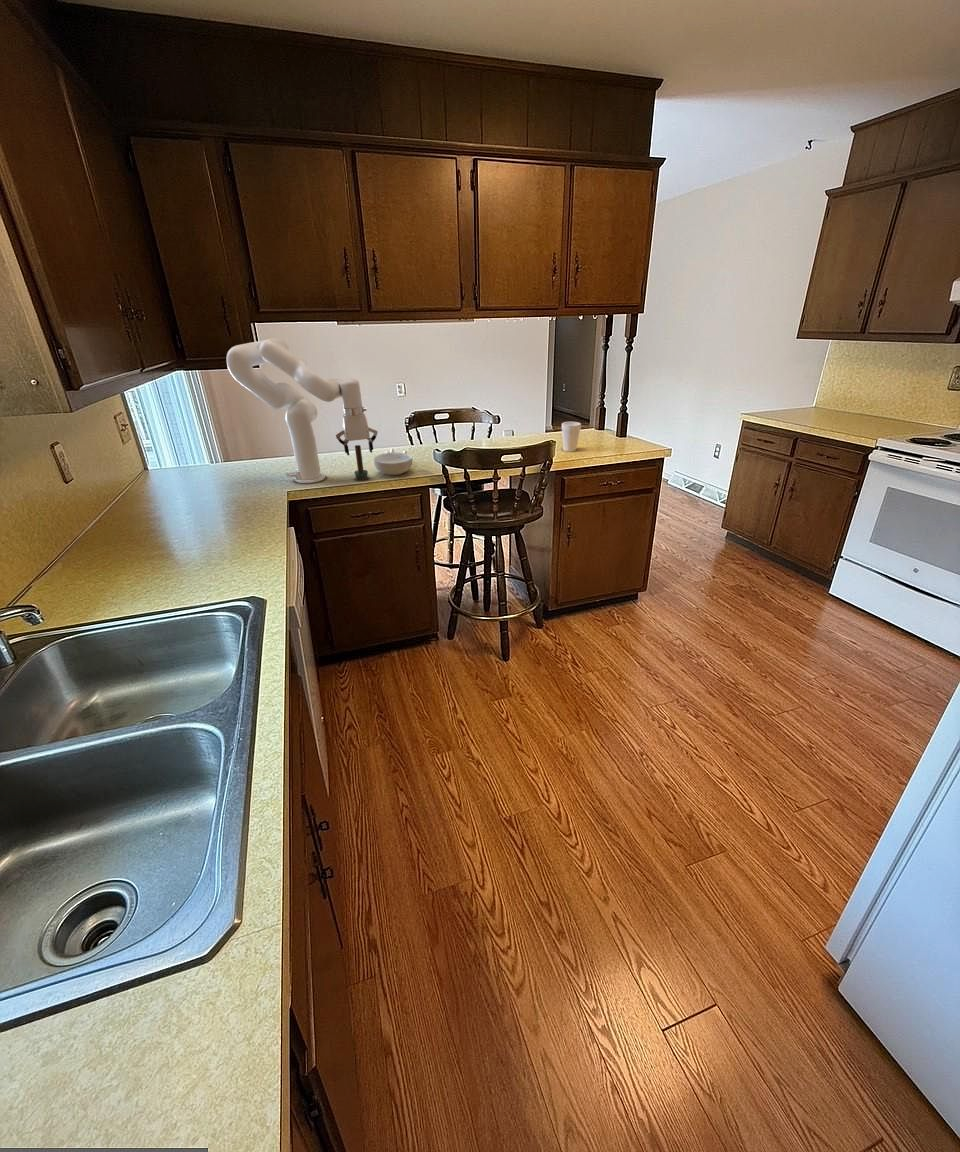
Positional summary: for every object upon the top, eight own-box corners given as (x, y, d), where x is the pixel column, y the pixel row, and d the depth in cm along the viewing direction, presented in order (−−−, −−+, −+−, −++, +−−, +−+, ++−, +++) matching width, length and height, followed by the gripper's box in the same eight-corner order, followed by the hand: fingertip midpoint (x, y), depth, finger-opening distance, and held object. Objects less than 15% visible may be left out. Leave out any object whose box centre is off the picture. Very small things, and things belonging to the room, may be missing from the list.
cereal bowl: (374, 479, 223) (373, 463, 219) (375, 468, 237) (373, 453, 234) (414, 477, 225) (413, 461, 222) (412, 466, 239) (411, 451, 236)
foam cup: (558, 447, 266) (559, 421, 259) (575, 447, 267) (577, 421, 260) (562, 452, 257) (564, 426, 251) (581, 451, 258) (583, 425, 252)
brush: (356, 481, 221) (351, 448, 214) (354, 477, 226) (350, 444, 219) (369, 480, 223) (365, 446, 216) (367, 476, 227) (363, 443, 220)
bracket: (404, 467, 241) (406, 451, 238) (389, 465, 238) (391, 449, 235) (398, 460, 252) (401, 445, 249) (384, 458, 249) (386, 442, 246)
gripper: (373, 408, 216) (378, 448, 224) (331, 412, 211) (337, 453, 219) (376, 411, 210) (381, 452, 218) (332, 415, 205) (339, 457, 213)
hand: (359, 453), depth 219 cm, fingers open, 9 cm apart
